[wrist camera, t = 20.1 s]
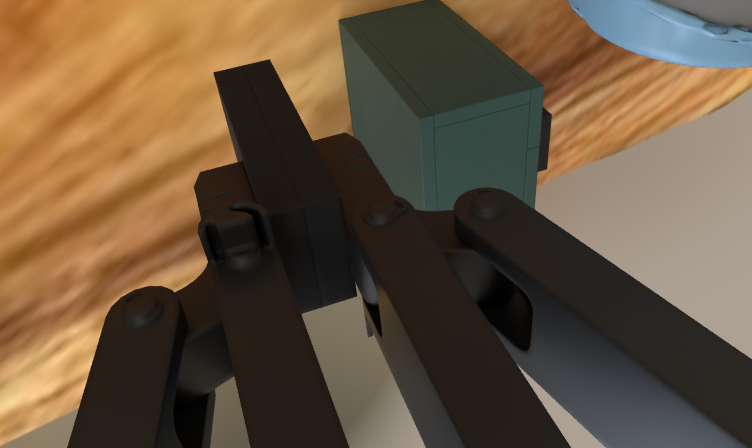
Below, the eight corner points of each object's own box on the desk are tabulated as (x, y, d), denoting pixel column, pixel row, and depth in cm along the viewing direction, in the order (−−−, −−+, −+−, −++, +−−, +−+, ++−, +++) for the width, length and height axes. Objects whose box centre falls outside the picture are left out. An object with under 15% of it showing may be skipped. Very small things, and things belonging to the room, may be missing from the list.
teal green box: (441, -4, 45) (550, 84, 34) (445, 146, 52) (535, 255, 42) (338, 19, 43) (418, 118, 33) (358, 170, 51) (428, 289, 40)
